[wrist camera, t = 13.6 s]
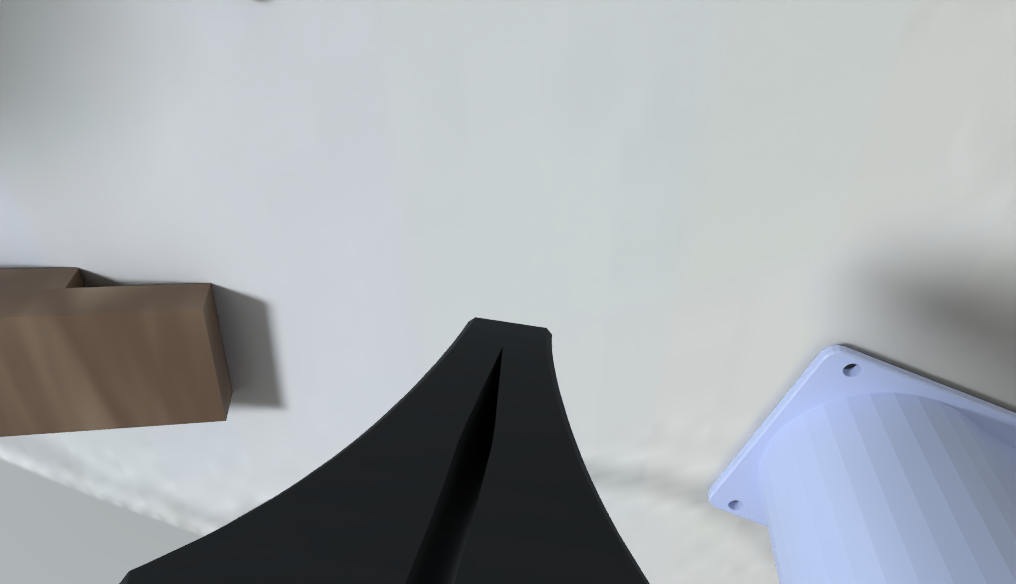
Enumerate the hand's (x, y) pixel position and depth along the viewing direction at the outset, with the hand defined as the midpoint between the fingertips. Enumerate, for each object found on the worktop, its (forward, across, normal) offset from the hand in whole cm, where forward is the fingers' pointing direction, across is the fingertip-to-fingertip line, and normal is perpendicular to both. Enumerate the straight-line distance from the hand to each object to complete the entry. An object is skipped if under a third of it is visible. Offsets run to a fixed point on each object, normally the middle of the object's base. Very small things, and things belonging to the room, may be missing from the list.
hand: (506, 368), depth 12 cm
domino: (+9, +11, +9) cm, 16 cm away
